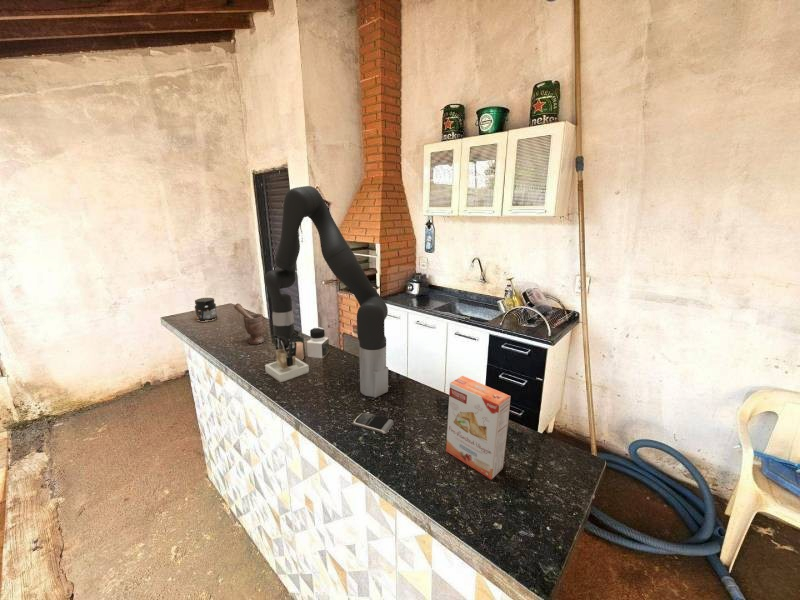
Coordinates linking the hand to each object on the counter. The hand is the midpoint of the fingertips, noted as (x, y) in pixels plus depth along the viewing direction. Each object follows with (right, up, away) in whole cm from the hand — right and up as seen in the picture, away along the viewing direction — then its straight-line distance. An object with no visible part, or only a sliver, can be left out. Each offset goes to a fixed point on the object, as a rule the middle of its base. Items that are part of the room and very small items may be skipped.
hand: (286, 363), depth 135 cm
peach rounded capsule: (+1, -1, +13) cm, 13 cm away
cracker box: (+63, -17, -45) cm, 80 cm away
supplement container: (-65, +13, +62) cm, 91 cm away
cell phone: (+36, -13, -30) cm, 49 cm away
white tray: (0, -4, +1) cm, 4 cm away
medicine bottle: (+8, 0, +18) cm, 19 cm away
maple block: (0, -1, 0) cm, 1 cm away
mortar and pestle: (-26, +4, +30) cm, 39 cm away
